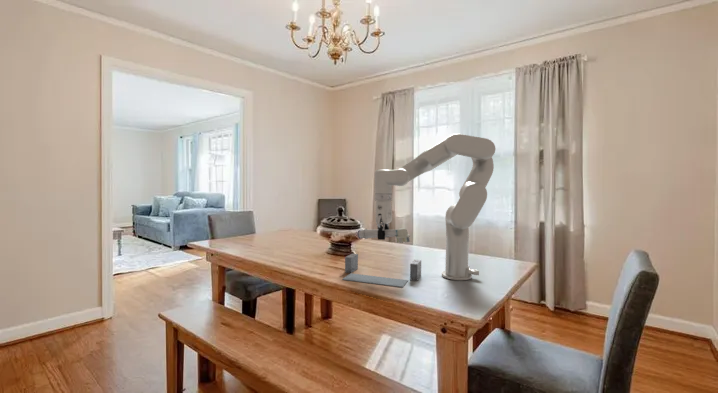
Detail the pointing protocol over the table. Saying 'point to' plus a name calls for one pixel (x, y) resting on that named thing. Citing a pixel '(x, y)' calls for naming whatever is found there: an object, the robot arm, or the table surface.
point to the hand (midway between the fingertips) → (383, 237)
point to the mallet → (386, 234)
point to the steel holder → (352, 265)
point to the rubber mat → (376, 280)
